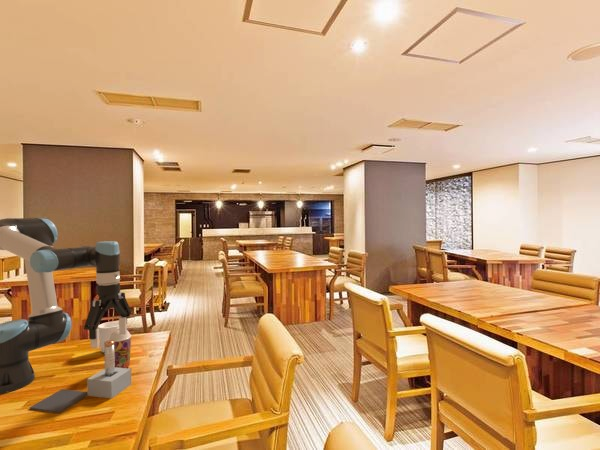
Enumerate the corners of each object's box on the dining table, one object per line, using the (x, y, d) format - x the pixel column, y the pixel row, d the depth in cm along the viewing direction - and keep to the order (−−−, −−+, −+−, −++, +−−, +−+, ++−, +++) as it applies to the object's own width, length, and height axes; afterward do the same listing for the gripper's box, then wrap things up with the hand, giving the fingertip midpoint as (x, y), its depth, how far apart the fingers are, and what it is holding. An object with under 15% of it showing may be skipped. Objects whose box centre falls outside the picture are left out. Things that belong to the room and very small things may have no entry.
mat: (29, 409, 110) (29, 407, 110) (61, 390, 122) (61, 389, 122) (59, 413, 108) (59, 411, 108) (89, 394, 120) (89, 392, 120)
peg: (103, 391, 121) (102, 343, 121) (109, 387, 125) (108, 339, 124) (110, 392, 121) (109, 343, 120) (117, 388, 124) (116, 340, 123)
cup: (104, 347, 163) (104, 321, 162) (125, 346, 164) (125, 320, 164) (94, 355, 153) (93, 328, 153) (116, 354, 154) (116, 327, 154)
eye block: (87, 395, 119) (87, 379, 119) (108, 381, 129) (108, 366, 128) (111, 398, 117) (111, 381, 117) (131, 384, 127) (131, 368, 126)
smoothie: (122, 375, 134) (121, 326, 134) (104, 373, 136) (103, 324, 135) (136, 366, 142) (135, 319, 142) (119, 364, 144) (118, 318, 143)
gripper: (89, 291, 109) (91, 354, 109) (140, 277, 133) (141, 329, 134) (70, 290, 110) (71, 353, 111) (123, 277, 135) (125, 328, 135)
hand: (109, 340), depth 122 cm, fingers open, 13 cm apart
